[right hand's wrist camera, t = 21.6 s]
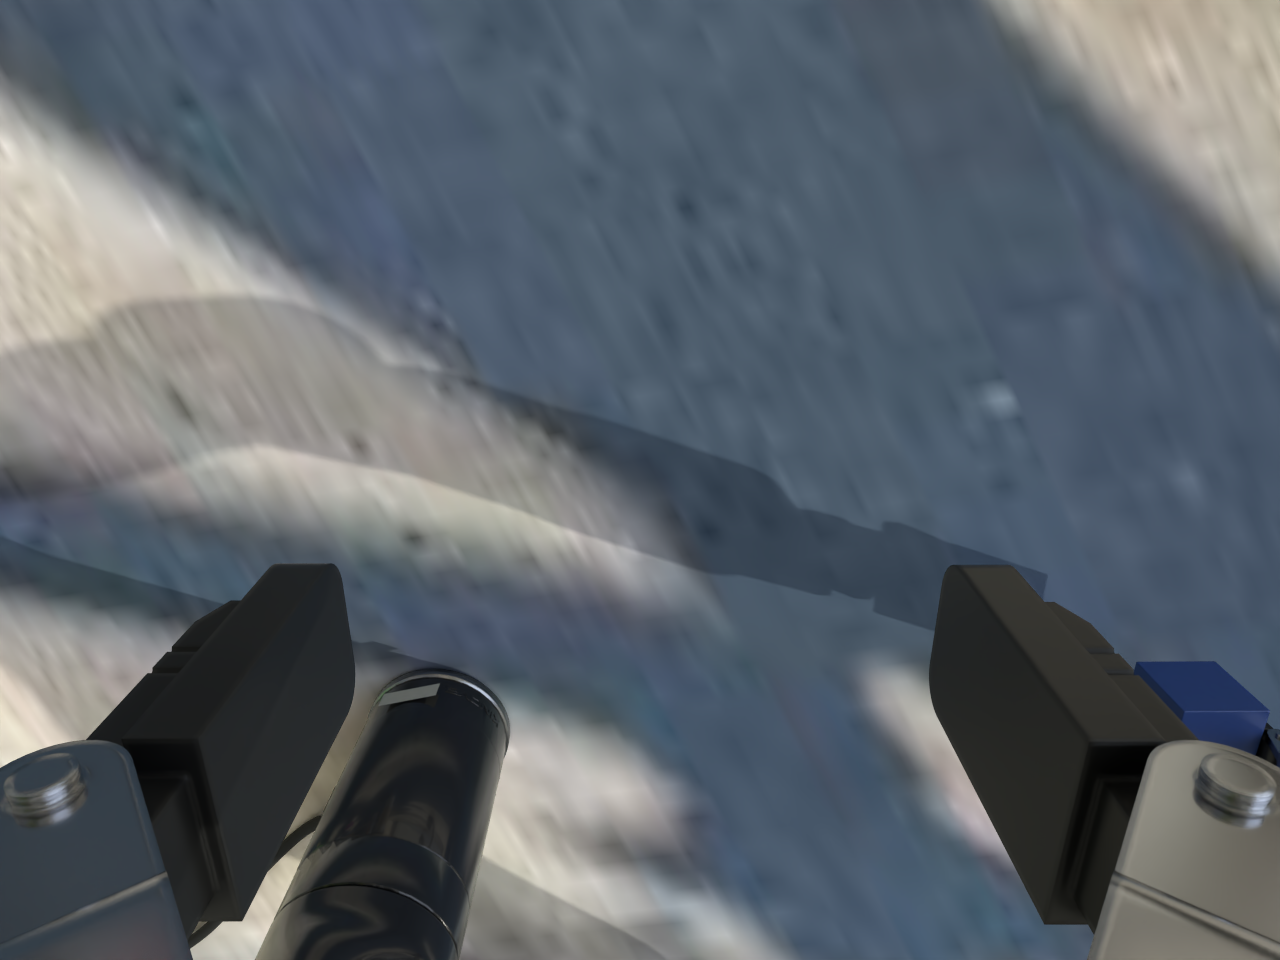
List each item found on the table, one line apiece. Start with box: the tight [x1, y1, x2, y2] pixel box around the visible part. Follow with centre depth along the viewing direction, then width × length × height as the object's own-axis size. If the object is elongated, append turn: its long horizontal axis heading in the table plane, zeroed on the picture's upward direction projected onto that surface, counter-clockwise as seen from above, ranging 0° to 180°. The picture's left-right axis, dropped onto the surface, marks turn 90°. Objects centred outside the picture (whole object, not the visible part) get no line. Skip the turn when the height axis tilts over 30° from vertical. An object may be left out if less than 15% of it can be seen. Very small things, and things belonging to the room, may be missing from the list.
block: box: [1134, 661, 1270, 756], centre depth 47 cm, size 5×5×5 cm
